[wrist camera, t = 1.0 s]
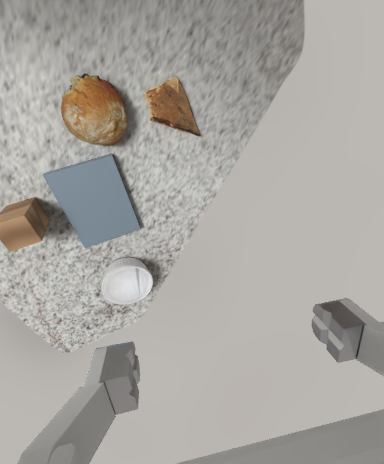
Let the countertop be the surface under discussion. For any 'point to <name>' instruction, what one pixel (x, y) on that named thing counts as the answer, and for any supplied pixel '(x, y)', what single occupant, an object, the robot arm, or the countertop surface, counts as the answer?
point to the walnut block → (22, 224)
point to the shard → (171, 106)
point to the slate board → (94, 199)
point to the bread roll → (94, 111)
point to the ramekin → (126, 281)
